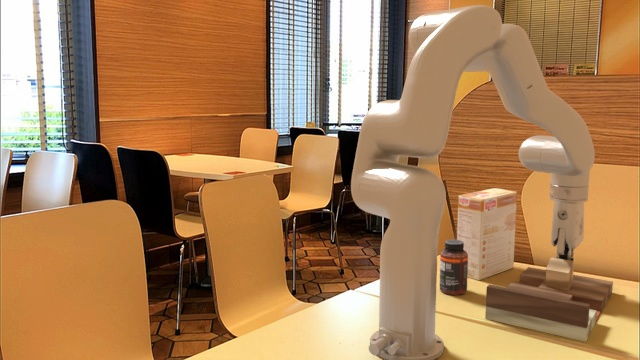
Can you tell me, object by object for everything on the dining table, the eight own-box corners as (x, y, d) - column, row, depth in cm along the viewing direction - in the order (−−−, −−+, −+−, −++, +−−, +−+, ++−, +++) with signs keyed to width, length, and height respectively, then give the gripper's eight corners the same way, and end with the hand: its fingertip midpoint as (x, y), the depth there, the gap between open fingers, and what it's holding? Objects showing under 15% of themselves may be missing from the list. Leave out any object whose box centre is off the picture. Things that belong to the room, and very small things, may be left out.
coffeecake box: (490, 261, 147) (493, 187, 144) (514, 268, 141) (518, 191, 138) (454, 273, 137) (457, 194, 134) (479, 281, 132) (482, 198, 129)
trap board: (585, 341, 100) (588, 306, 99) (485, 318, 110) (486, 286, 109) (612, 292, 124) (614, 263, 123) (527, 277, 135) (529, 250, 134)
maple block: (568, 290, 118) (568, 273, 116) (546, 286, 121) (545, 269, 119) (573, 278, 122) (573, 260, 120) (551, 274, 124) (550, 257, 122)
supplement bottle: (464, 287, 128) (466, 238, 126) (468, 296, 122) (471, 245, 120) (437, 286, 129) (439, 237, 127) (440, 295, 123) (442, 244, 121)
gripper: (580, 200, 113) (575, 289, 116) (594, 188, 125) (589, 268, 128) (541, 197, 117) (537, 282, 120) (558, 185, 129) (553, 263, 132)
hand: (563, 275), depth 124 cm, fingers closed
